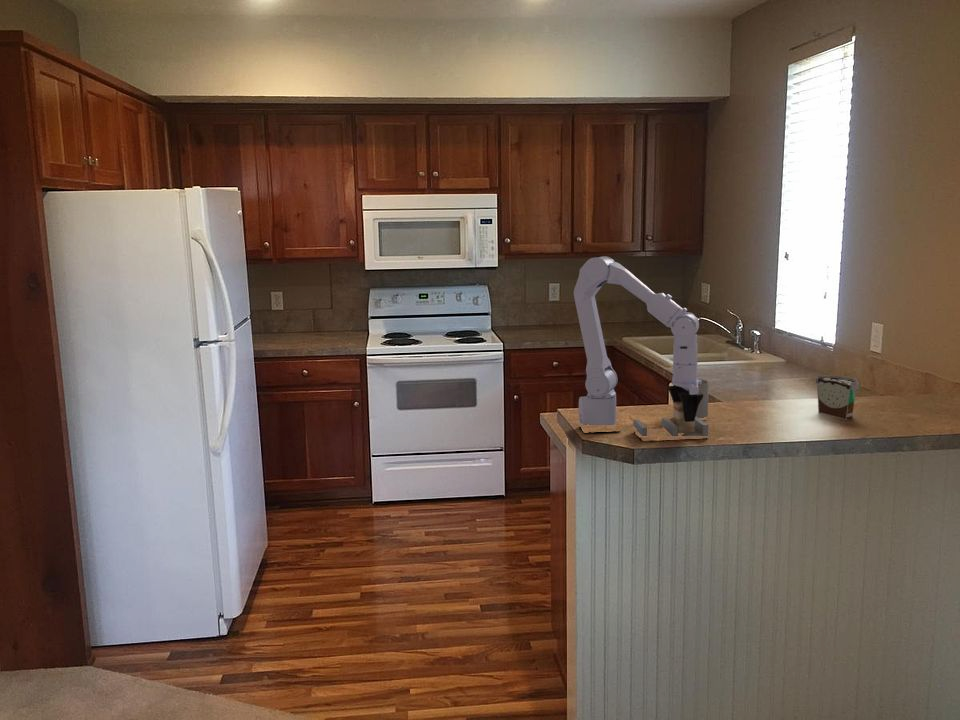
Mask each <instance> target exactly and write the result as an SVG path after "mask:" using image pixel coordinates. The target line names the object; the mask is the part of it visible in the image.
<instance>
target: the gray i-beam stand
mask: <svg viewBox="0 0 960 720" xmlns="http://www.w3.org/2000/svg"><path fill="white" fill-rule="evenodd" d="M632 421H633V422H632V423H633V424H632V425H633V426H634V427H635V428H636V429H637V431H638V432H639V433H640V434H641V435H642V436H647V428H648V427H647V426H646V425H645V424H644V423H643V422H642V421H641V420H640V419H638V418H633V420H632ZM661 424H662V426H663V427H664V428H665V429H666V430H667V431H668V432H669V433H670V434H671V435H672V436H678V426H677V425H676V424H674V421H672V420H671V419H669V417H662V423H661ZM633 426H632V427H633ZM662 426H661V427H662ZM682 436H708V437H709V424H708V423H706V422H705V421H702V420H700V419H699V418H698V417H695V433H684V434H683V435H682Z"/></svg>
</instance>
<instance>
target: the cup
mask: <svg viewBox="0 0 960 720" xmlns="http://www.w3.org/2000/svg"><path fill="white" fill-rule="evenodd" d="M697 380H701V381H702V384H698V386H699V393H702V394H703V398H702V400H701V402H700V404H699V406H698V409H697V413H696V417H698V418H704V417H707V416H708V417H709V387H710V386H709V385H710V384H709V381H708V380H706V379H702V378H701V379H700V378H697Z"/></svg>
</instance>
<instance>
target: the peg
mask: <svg viewBox="0 0 960 720" xmlns="http://www.w3.org/2000/svg"><path fill="white" fill-rule="evenodd" d="M672 404H673V423H674V424H676V425H677V426H678V433H695V420H694V422H686V421H685V419H684V413H683V406H682V402H673V401H672Z"/></svg>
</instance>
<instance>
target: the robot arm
mask: <svg viewBox="0 0 960 720" xmlns="http://www.w3.org/2000/svg"><path fill="white" fill-rule="evenodd" d="M605 284H611V285H612V284H613V285H618V286H619V285H620V286H621V287H623V288H624V289H626V290H627V291H628V292H630V293H631V294H632V295H634V296H635V297H636V298H638V299H639V300H641V301H642V302H643V303H645V305H646V310H647V312H648V313H649V314H650V315H652V316H653V317H654V318H656V319H657V320H658V321H659V322H660V323H662V324H663V325H664V326H665V327H667V328H670V330H671V333H672V335H673V345H672V347H673V349H672V351H673V352H672V362H673V364H672V375H671V376H672V377H671V379H672V380H671V384H672V385H668V386H667V391H669V394H670V397H671V400H672V403H673V402H682V406H683V413H684V419H685V421H686V422H694V420H695V417H696V413H697V409H698V406H699V404H700V402H701V400H702V398H703V394H702V393H699V386H698V384H702V381H701V380H697V379H698V356H699V355H698V350H699V349H698V347H699V345H698V334H697V332H698V331H699V328H700V322H699V319H698V317H697V316H696V315H695V314H694V313H692V312H690V311H689V312H687V311H688V308H686V307H681V306H680V305H679V304H677V303H676V302H675V301H674V300H672V298H673V296H672V295H670V294H669V293H667V294H665V293H664V292H659V293H655V292H654V291H652V290H651V289H650V288H649V287H648V286H647V285H646V284H645V283H644V282H642V281H641V280H640V279H639V278H637V277H636V276H635V275H634V274H633V273H632V272H631V271H629V270H628V269H627V268H626V267H624V266H623V265H622V264H621V263H619V262H617V261H615V260H614V259H612V258H611V257H610V256H606V255H605V256H604V255H602V256H599V257H591V258H589V259H588V260H587V261H585V263H583V265H582V266H581V267H580V268H579V274H578V278H577V281H576V284H575V286H574V289H573V298H574V302H575V308H576V312H577V317H578V322H579V327H580V332H581V337H582V342H583V347H584V352H585V356H586V366H585V367H586V368H585V373H586V379H585V383H584V385H585V389H586V391H587V395H586V396H580V397H579V398H578V422H579V421H580V423H582V424H583V425H587V424H589V425H614V424H616V425H617V393H616V391H615V388H616V386H617V384H618V382H619V381H618V379H619V378H618V375H617V372H616V371H615V370H614V368H613V367H612V362H611V360H610V358H608V354H607V349H606V345H605V341H604V335H603V330H602V326H601V320H600V316H599V310H598V307H597V300H596V295H597V294H598V292H599V291H600V290H601V288H602V286H604V285H605Z"/></svg>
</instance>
